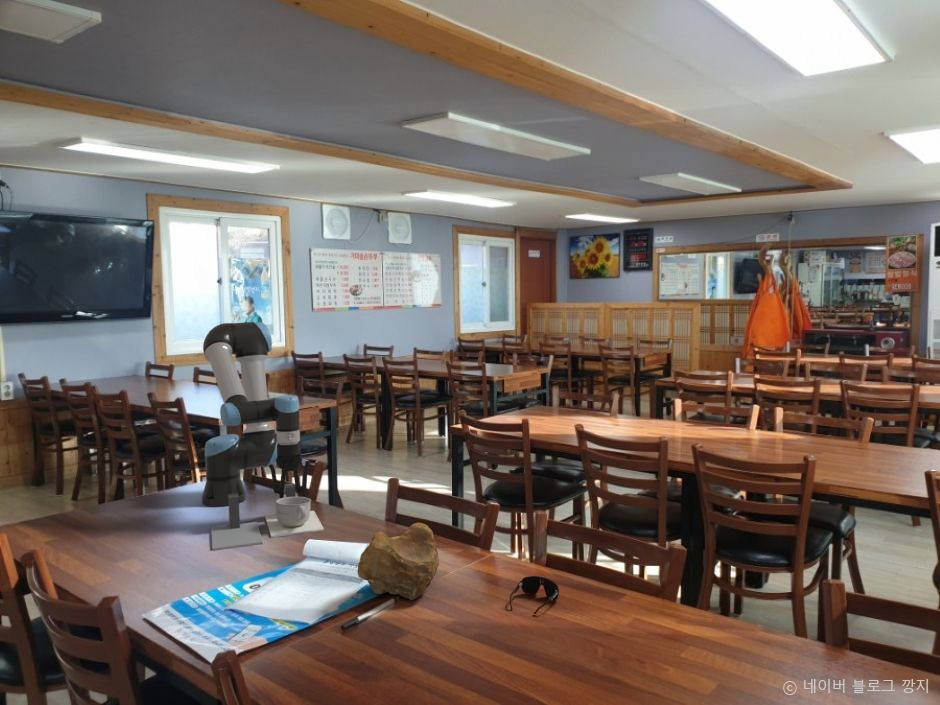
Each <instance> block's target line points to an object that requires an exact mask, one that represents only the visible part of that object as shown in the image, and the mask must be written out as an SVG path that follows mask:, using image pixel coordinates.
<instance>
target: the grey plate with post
mask: <svg viewBox="0 0 940 705" xmlns="http://www.w3.org/2000/svg"><path fill="white" fill-rule="evenodd" d="M295 491H296V485H295V483H285V487H284V493H286V497H295ZM264 519H265V521H266V524H267V528H268V531H269V534H270V537H271V538H278V537H285V536H286V537H287V536H292V535H295V536H296V535H300V534H301V535H302V534H309V533H317V532H324V531H325V528H324V525H322V523H321V520H320V519H319V517H318V515H317V513H316V512H315V510H310V517H309V519H308V520H307V521H306V522H305V523H304V524H303V525H301V526H295V527H288V526H284V525H282V524H281V523H280V522H279V521H278V520H277V514H274V515H269V516H267V515H266V516H265V518H264Z"/></svg>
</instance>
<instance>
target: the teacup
mask: <svg viewBox="0 0 940 705" xmlns="http://www.w3.org/2000/svg"><path fill="white" fill-rule="evenodd" d="M311 502H312V499H311V498H308V497H305V496H301V497H285V498H281V499H280V498H278V499H276V500H275V504H276V505H275V508H276V509H275V510H276V511H275V512H276V513H275V515H277V520H278V521H279V522H280V523H281V524H282V525H284V526H288V527H295V526H301V525H303V524H304V523H305V522H306V521H307V520H308V519H309V517H310V511H311Z"/></svg>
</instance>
